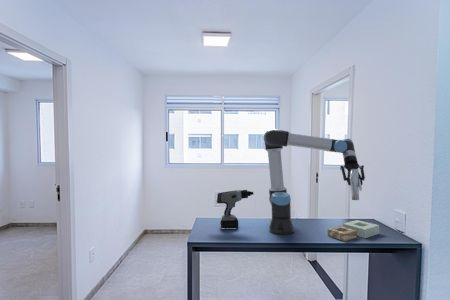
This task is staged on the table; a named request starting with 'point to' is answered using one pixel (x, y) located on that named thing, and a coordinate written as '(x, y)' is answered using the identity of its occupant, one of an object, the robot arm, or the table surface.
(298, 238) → the table surface
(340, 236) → the maple sleeve
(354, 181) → the cylinder
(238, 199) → the cordless drill
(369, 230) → the sage rack
